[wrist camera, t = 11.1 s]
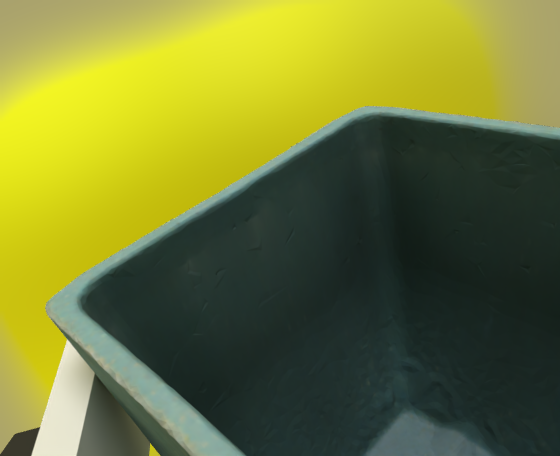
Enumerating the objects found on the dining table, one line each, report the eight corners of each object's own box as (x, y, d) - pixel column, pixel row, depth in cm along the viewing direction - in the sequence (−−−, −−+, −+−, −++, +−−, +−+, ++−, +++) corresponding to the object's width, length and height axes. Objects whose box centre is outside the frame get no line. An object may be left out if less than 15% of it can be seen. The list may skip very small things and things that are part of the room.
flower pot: (712, 504, 11) (881, 153, 7) (558, 1005, 7) (744, 1032, 2) (391, 344, 17) (360, 99, 13) (196, 557, 13) (31, 300, 8)
